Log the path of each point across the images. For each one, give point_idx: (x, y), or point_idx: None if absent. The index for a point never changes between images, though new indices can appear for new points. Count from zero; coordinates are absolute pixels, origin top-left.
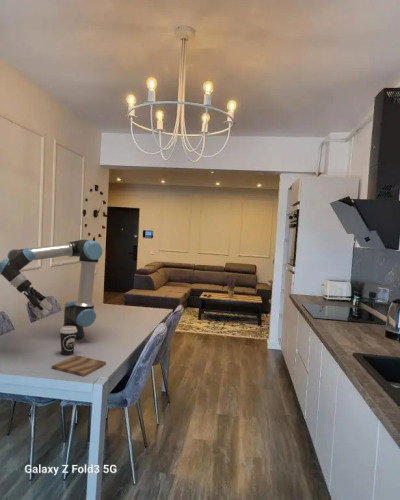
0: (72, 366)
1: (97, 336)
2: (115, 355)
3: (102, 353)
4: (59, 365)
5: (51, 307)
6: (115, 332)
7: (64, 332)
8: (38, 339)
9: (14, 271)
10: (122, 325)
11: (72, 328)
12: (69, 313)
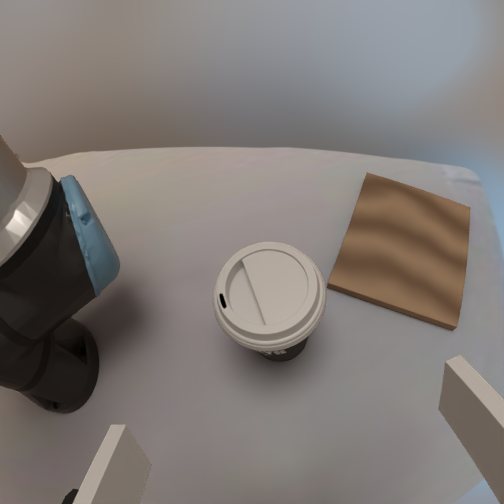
0: (441, 254)
1: None
2: (275, 171)
3: (261, 209)
4: (448, 300)
5: (131, 439)
6: None
7: (325, 301)
8: None
9: None
10: None
11: (270, 262)
12: (12, 339)
